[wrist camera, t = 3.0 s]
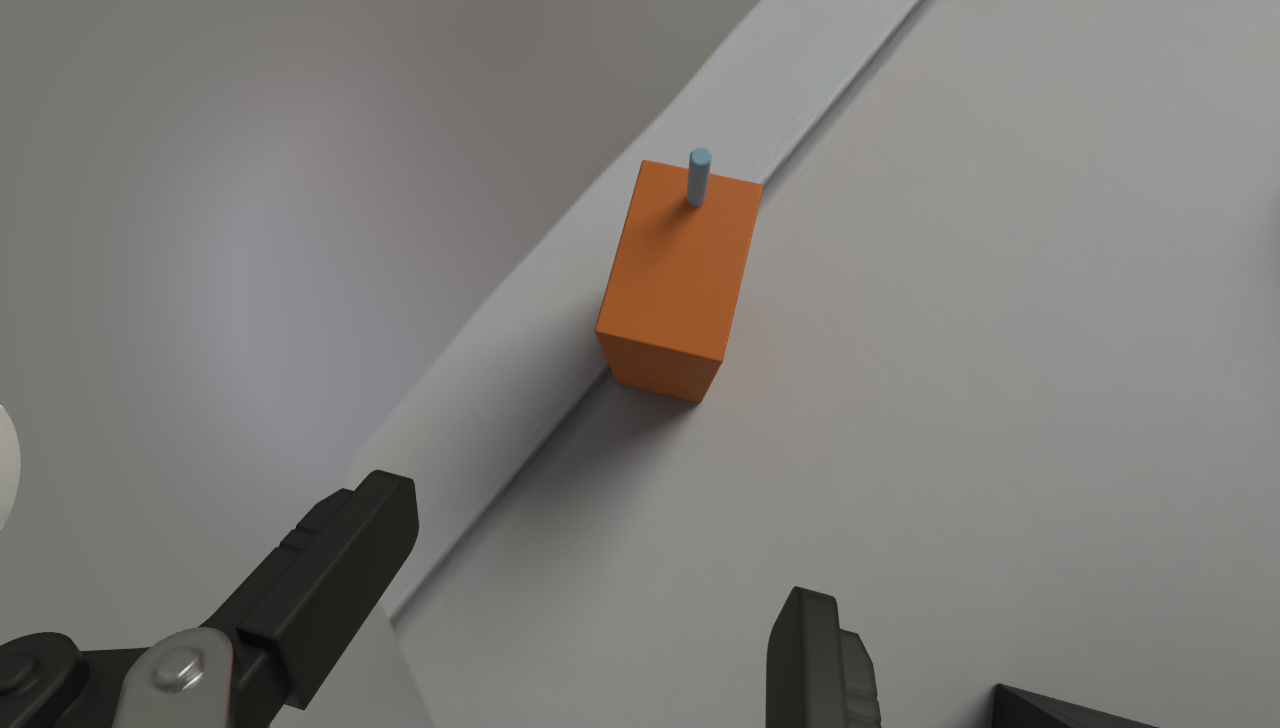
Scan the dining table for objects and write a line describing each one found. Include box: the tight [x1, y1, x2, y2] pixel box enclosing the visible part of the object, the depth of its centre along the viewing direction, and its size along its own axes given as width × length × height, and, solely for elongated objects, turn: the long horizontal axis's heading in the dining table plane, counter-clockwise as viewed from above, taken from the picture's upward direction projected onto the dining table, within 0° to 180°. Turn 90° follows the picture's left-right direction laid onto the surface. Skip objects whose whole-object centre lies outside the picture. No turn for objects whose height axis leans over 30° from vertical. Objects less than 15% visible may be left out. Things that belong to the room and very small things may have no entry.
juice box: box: [595, 147, 763, 403], centre depth 21 cm, size 4×6×11 cm, turn 166°
